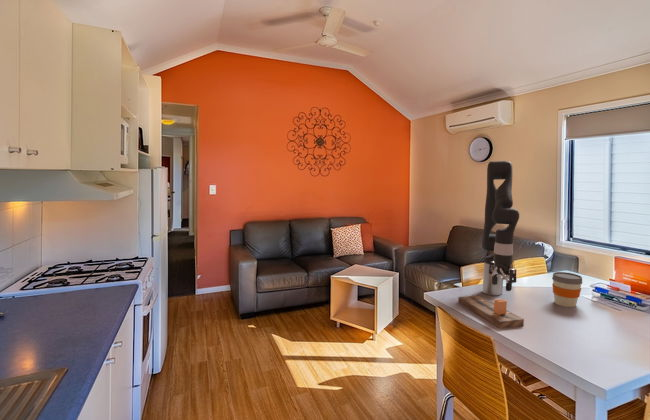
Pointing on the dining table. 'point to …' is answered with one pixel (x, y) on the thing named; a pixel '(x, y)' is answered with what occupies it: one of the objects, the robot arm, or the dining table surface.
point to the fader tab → (500, 306)
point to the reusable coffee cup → (566, 288)
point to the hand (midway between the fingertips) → (501, 287)
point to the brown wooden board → (490, 312)
